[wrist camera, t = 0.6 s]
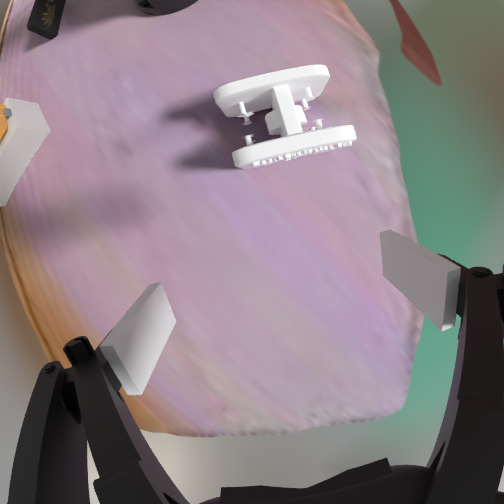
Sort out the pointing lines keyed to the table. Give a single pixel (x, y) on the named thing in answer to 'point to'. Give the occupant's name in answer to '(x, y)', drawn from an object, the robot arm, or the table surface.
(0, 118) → the rocker orange
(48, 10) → the nameplate
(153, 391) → the table surface
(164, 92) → the table surface
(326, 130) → the cable organizer
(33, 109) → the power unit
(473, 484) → the robot arm
